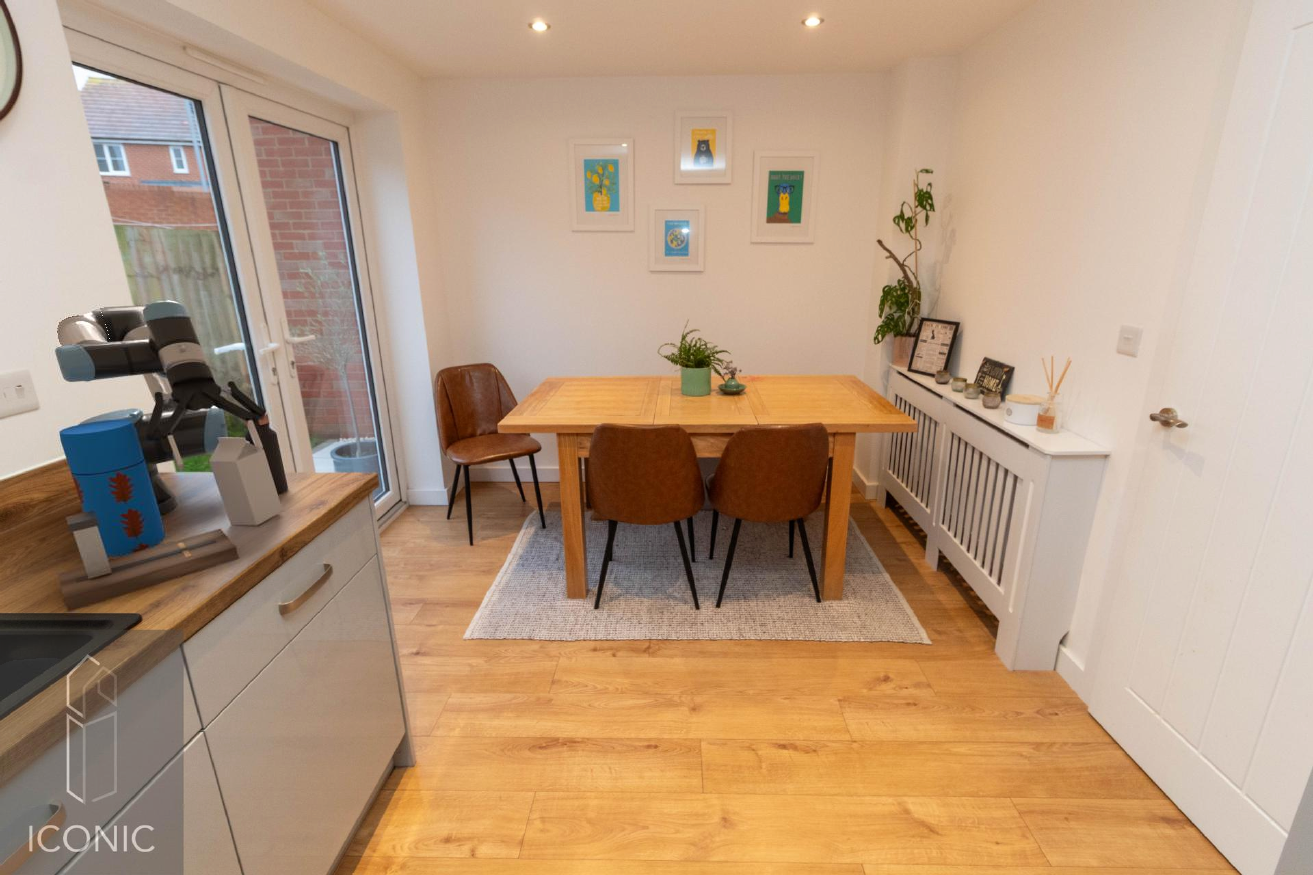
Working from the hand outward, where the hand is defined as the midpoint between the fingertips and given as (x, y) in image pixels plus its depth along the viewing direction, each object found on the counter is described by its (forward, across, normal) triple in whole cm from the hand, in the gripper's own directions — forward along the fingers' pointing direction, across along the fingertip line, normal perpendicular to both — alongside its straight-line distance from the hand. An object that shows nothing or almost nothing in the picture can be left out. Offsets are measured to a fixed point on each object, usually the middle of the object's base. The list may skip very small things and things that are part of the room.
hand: (222, 458), depth 121 cm
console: (+18, -16, +2) cm, 24 cm away
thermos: (+8, -17, +17) cm, 25 cm away
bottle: (+2, +11, +26) cm, 28 cm away
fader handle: (+16, -23, 0) cm, 28 cm away
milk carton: (+11, +4, +12) cm, 17 cm away
